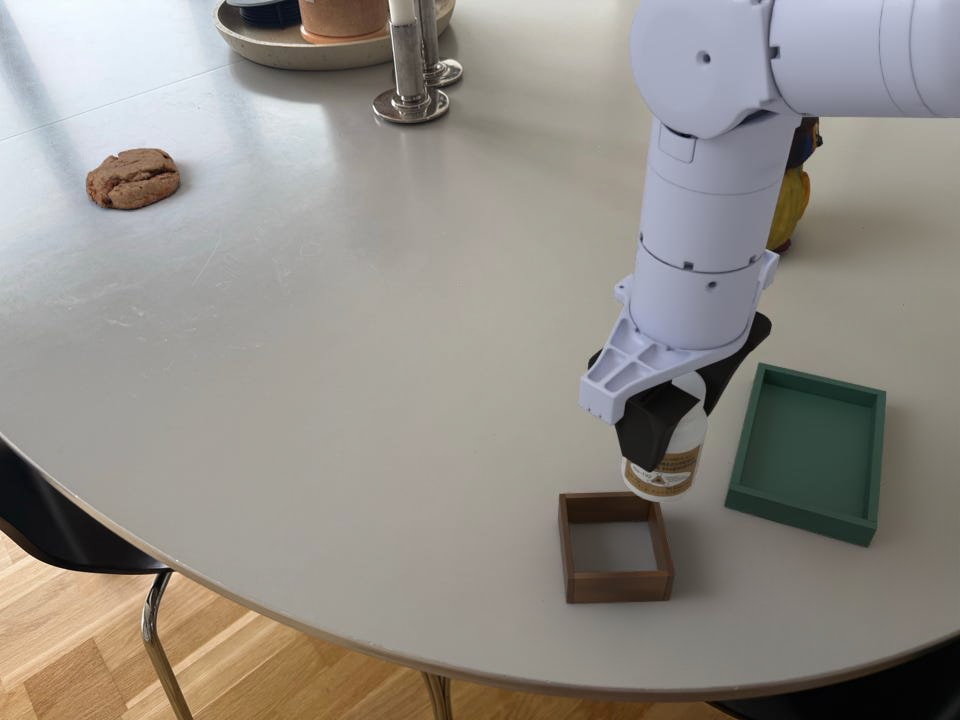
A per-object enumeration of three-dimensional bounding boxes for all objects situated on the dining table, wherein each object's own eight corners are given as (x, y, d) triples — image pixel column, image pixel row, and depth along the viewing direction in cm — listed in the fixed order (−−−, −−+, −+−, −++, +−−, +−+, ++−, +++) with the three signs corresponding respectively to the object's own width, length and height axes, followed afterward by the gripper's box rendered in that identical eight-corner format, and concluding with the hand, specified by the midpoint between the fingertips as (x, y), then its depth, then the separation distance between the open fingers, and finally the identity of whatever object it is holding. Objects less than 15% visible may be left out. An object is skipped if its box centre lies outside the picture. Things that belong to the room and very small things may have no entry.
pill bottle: (619, 501, 48) (631, 410, 43) (621, 444, 51) (633, 353, 46) (695, 509, 47) (718, 418, 42) (693, 451, 50) (714, 360, 45)
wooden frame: (652, 516, 55) (657, 490, 53) (669, 601, 50) (675, 575, 49) (557, 519, 55) (559, 493, 53) (566, 603, 51) (567, 578, 49)
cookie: (184, 157, 95) (177, 133, 92) (180, 204, 87) (172, 179, 85) (95, 169, 93) (85, 145, 91) (83, 218, 85) (72, 193, 83)
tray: (868, 548, 53) (877, 529, 51) (723, 506, 55) (728, 488, 54) (878, 409, 62) (886, 390, 60) (753, 380, 64) (758, 361, 63)
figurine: (795, 276, 74) (838, 122, 64) (716, 266, 75) (746, 113, 65) (795, 218, 81) (835, 71, 71) (723, 210, 82) (751, 64, 72)
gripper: (712, 149, 43) (678, 341, 52) (531, 273, 36) (528, 471, 45) (839, 196, 40) (778, 393, 49) (665, 344, 32) (633, 544, 41)
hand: (665, 435), depth 47 cm, fingers closed on pill bottle, 4 cm apart
